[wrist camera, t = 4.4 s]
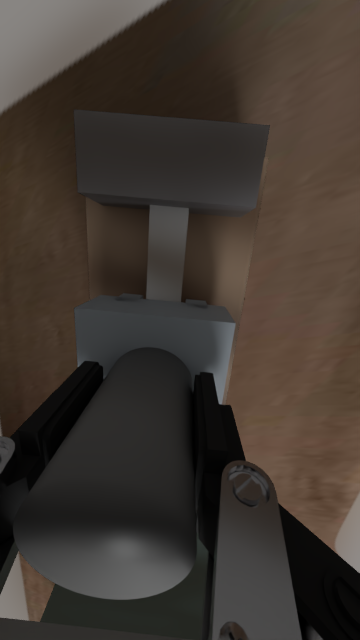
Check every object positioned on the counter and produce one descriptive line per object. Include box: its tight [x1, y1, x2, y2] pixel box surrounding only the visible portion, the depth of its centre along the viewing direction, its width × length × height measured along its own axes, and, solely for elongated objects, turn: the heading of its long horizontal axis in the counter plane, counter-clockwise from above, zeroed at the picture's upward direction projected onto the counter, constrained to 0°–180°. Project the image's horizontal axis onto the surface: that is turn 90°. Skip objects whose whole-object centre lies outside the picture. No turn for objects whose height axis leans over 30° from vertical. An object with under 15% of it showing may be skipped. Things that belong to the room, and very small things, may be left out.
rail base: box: [40, 110, 270, 640], centre depth 13 cm, size 32×10×10 cm, turn 175°
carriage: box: [13, 293, 236, 600], centre depth 10 cm, size 7×7×10 cm
